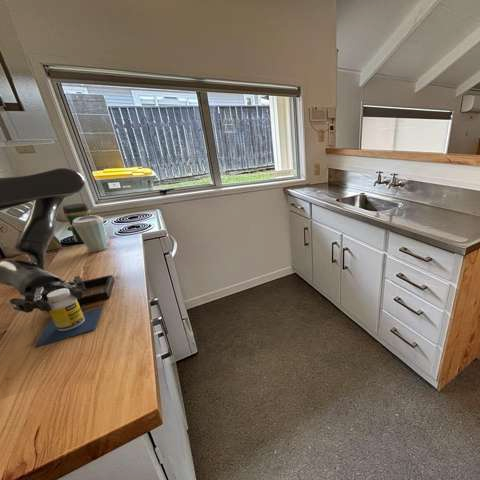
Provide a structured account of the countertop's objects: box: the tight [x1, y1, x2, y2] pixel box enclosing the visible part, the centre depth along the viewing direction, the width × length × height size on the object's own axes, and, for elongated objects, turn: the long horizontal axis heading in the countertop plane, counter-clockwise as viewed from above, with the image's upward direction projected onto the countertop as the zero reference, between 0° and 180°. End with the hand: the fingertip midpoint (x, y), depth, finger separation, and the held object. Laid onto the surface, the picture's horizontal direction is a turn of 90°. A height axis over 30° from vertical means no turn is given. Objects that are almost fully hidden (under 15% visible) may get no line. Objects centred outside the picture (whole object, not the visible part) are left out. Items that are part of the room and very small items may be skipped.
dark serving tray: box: [76, 274, 115, 307], centre depth 80 cm, size 13×13×2 cm
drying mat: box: [34, 307, 103, 348], centre depth 67 cm, size 11×11×1 cm
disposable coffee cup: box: [72, 214, 108, 253], centre depth 115 cm, size 11×11×15 cm
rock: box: [46, 233, 63, 252], centre depth 117 cm, size 11×9×10 cm
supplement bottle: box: [47, 288, 85, 331], centre depth 65 cm, size 5×5×10 cm
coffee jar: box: [62, 202, 91, 244], centre depth 126 cm, size 10×8×19 cm
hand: (64, 301), depth 63 cm, fingers closed on supplement bottle, 5 cm apart
